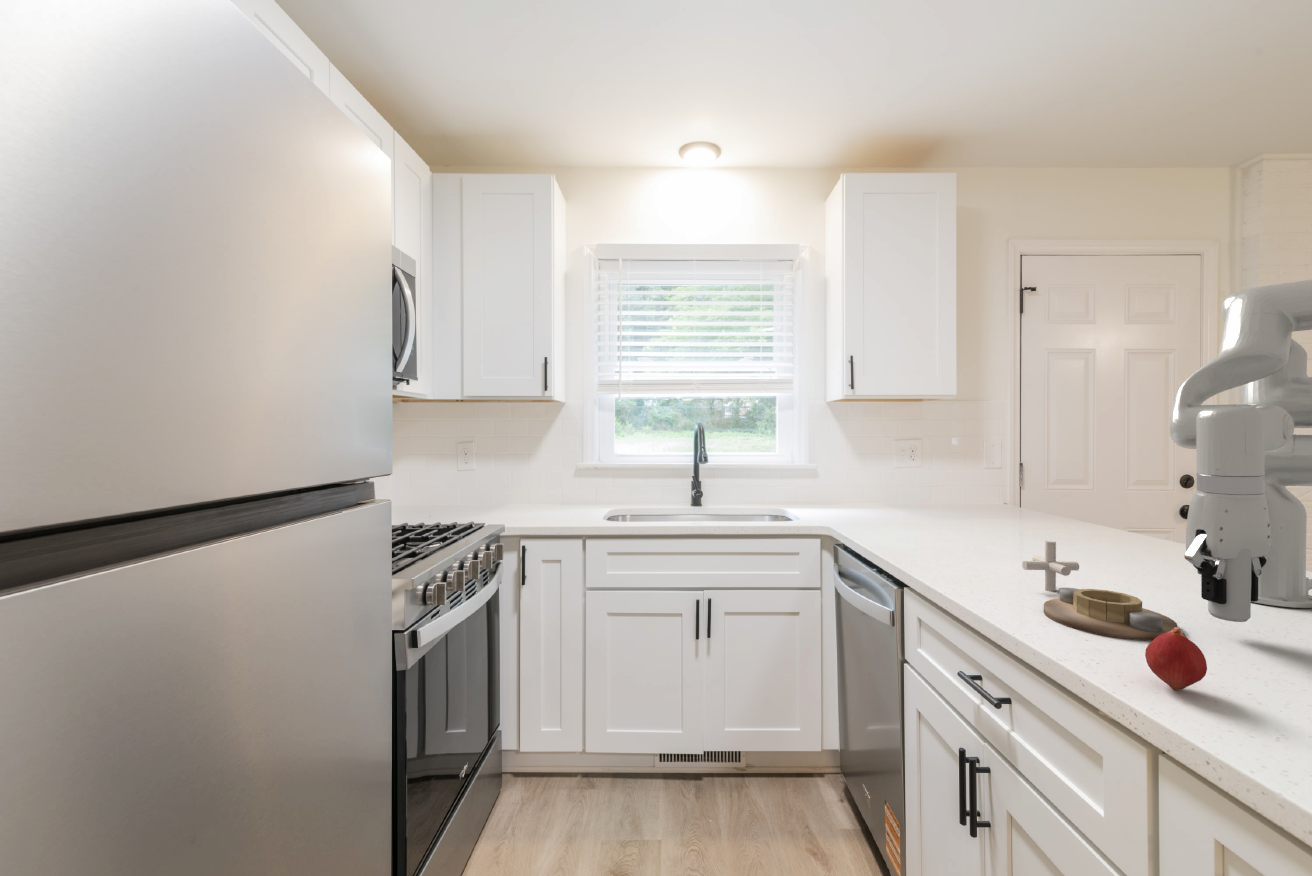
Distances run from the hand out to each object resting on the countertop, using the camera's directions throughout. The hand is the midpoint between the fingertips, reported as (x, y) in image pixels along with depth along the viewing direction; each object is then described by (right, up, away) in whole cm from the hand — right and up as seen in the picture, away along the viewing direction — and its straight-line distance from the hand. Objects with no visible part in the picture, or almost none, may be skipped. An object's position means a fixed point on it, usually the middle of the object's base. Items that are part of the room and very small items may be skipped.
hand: (1229, 599), depth 90 cm
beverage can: (0, -3, 0) cm, 3 cm away
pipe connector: (-10, -6, +27) cm, 29 cm away
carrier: (-13, -6, +8) cm, 16 cm away
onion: (-24, -7, -17) cm, 30 cm away
